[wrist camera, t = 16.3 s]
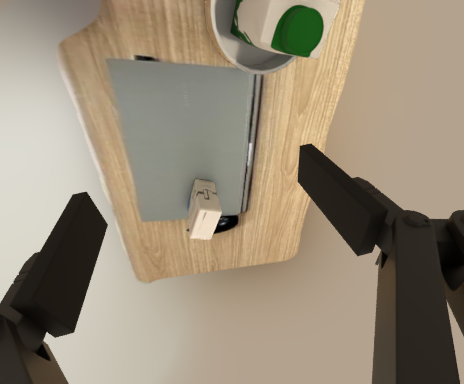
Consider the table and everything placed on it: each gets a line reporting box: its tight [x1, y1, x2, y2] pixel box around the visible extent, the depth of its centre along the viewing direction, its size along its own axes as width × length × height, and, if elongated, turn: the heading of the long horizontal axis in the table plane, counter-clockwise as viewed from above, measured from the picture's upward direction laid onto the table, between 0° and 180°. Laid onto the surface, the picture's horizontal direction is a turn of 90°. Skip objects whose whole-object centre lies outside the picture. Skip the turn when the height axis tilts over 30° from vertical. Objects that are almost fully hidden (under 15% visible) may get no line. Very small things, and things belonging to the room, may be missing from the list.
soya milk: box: [230, 0, 340, 59], centre depth 30 cm, size 9×9×20 cm
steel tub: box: [205, 0, 298, 75], centre depth 36 cm, size 16×16×7 cm
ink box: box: [188, 179, 222, 240], centre depth 53 cm, size 9×5×12 cm, turn 160°
